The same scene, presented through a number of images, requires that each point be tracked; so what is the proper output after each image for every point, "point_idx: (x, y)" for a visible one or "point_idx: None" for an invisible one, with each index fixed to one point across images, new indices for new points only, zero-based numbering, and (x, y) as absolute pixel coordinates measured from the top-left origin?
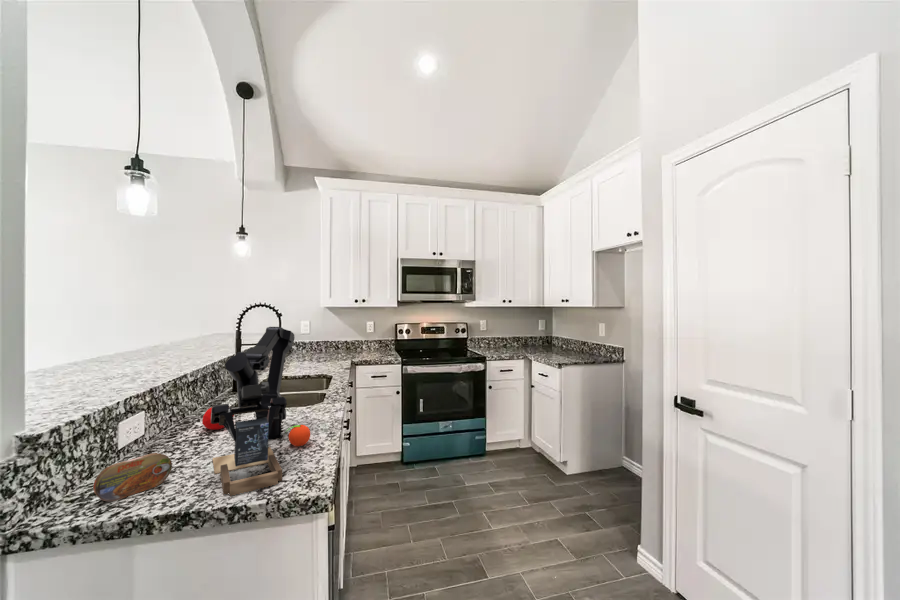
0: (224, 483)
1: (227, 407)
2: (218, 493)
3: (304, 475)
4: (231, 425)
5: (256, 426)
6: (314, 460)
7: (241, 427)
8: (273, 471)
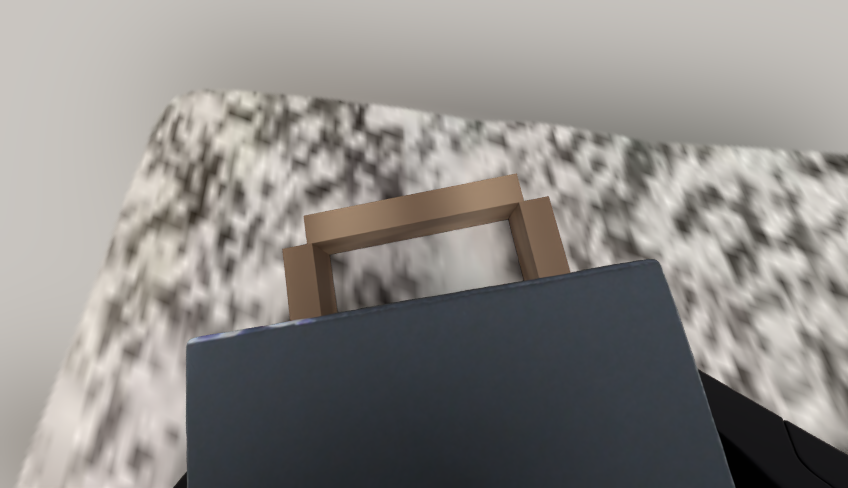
0: (545, 198)
1: None
2: None
3: (204, 279)
4: (799, 454)
5: (375, 308)
6: (121, 454)
7: (591, 270)
8: None
